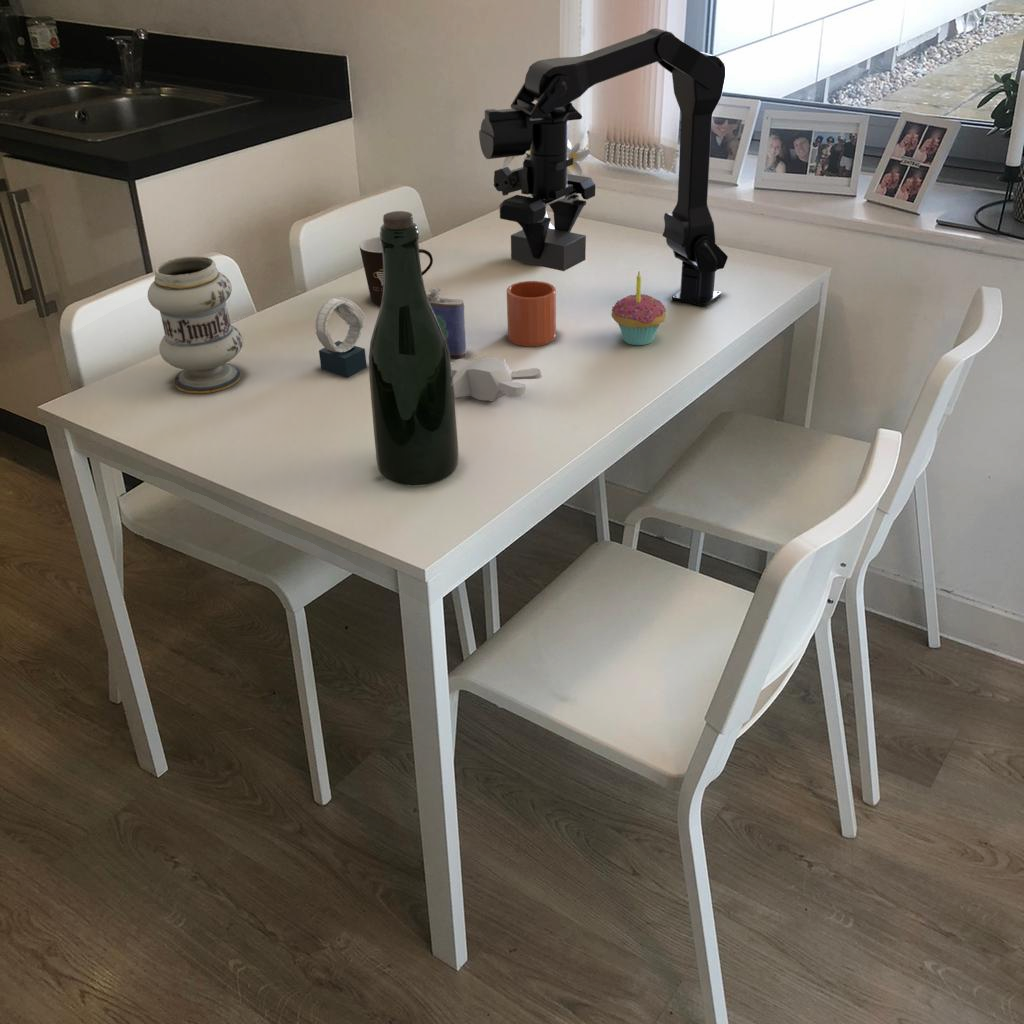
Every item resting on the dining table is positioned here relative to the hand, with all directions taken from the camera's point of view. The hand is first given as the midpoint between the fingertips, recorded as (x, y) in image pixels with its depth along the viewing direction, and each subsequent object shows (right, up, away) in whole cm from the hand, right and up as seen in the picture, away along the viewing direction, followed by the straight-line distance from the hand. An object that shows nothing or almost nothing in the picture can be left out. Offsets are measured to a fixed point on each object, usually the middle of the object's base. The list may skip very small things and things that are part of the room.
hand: (548, 252), depth 170 cm
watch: (-32, -19, -6) cm, 37 cm away
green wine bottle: (-18, -36, -32) cm, 51 cm away
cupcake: (+14, -14, +1) cm, 20 cm away
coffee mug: (-26, -4, +18) cm, 32 cm away
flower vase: (0, +7, +34) cm, 35 cm away
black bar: (0, -1, +1) cm, 1 cm away
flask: (-17, -16, -2) cm, 24 cm away
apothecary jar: (-52, -21, -8) cm, 57 cm away
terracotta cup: (-3, -13, +3) cm, 13 cm away
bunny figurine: (-10, -24, -15) cm, 30 cm away
